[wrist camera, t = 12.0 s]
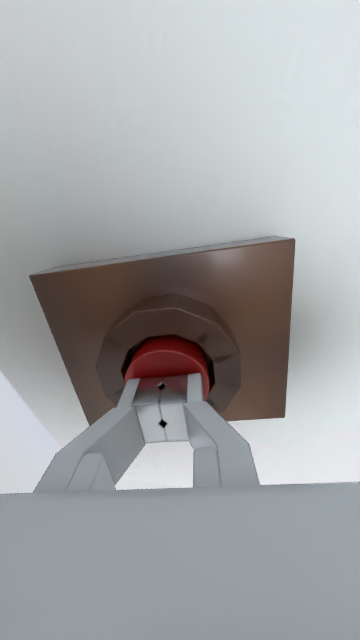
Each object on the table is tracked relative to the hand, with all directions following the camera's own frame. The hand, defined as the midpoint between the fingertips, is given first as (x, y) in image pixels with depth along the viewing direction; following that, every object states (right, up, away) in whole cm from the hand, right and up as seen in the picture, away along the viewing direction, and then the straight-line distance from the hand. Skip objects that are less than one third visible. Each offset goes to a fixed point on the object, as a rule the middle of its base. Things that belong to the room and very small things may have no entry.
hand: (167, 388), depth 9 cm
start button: (0, +1, +2) cm, 2 cm away
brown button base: (0, +2, +4) cm, 5 cm away
